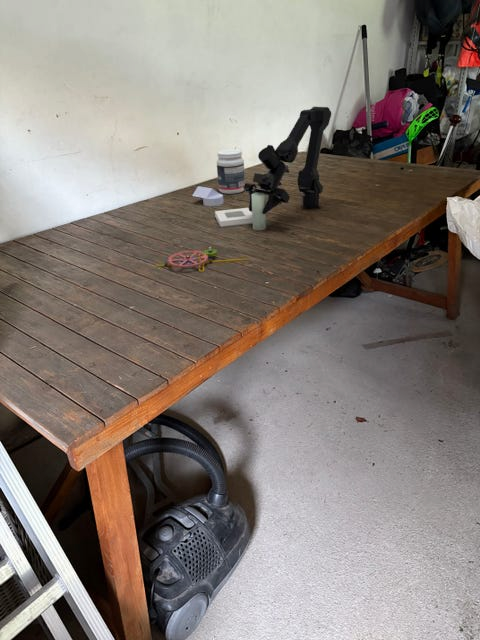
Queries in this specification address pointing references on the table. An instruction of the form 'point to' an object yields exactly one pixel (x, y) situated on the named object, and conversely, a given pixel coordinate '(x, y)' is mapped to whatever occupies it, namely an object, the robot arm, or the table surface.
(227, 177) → the supplement tub
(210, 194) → the wedge on round base
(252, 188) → the robot arm
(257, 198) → the green post
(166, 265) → the mechanical gear assembly
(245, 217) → the socket block
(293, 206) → the table surface
